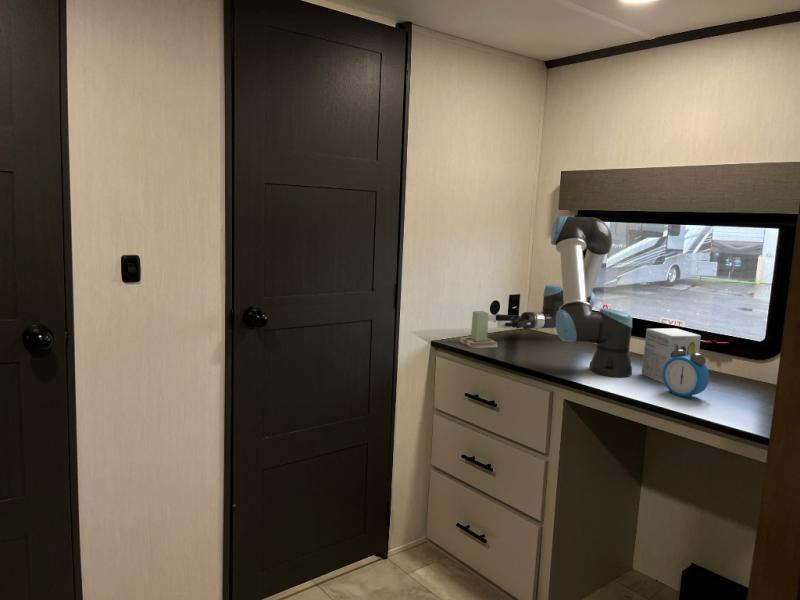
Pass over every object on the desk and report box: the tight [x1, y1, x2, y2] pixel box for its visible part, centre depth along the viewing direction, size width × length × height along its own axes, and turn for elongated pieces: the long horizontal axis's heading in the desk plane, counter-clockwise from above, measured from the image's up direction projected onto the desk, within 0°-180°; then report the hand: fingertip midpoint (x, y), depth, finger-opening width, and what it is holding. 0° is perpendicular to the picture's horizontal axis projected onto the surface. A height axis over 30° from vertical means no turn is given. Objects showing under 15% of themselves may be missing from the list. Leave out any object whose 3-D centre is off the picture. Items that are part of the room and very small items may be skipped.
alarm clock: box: [663, 349, 710, 400], centre depth 200 cm, size 13×6×15 cm, turn 35°
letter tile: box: [459, 336, 498, 349], centre depth 262 cm, size 12×12×2 cm
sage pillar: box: [470, 310, 490, 341], centre depth 261 cm, size 5×5×12 cm
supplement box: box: [641, 327, 702, 385], centre depth 220 cm, size 13×13×18 cm
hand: (489, 321), depth 263 cm, fingers open, 13 cm apart
